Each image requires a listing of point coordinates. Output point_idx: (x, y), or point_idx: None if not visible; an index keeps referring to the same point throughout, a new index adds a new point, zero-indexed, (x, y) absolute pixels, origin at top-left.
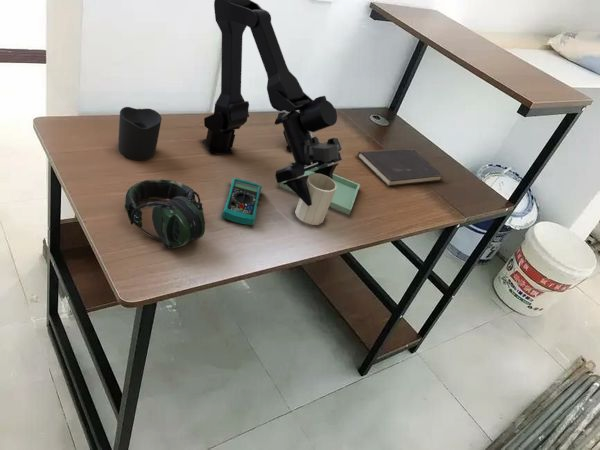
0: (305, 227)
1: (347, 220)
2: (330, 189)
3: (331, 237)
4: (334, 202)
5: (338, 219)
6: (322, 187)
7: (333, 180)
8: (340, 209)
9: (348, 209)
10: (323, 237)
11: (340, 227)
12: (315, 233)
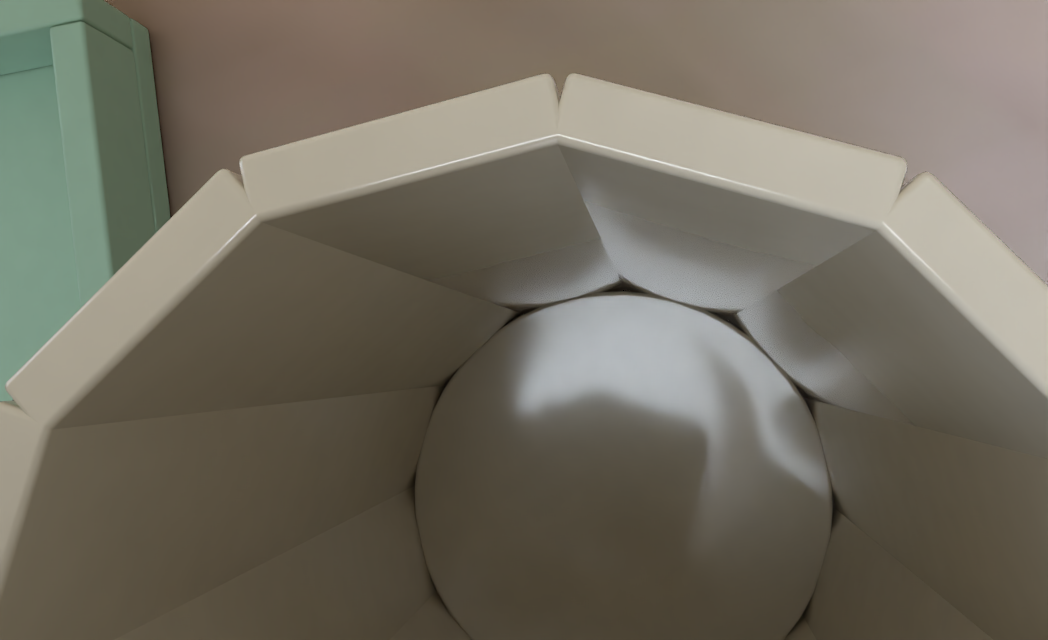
0: None
1: (245, 3)
2: (267, 367)
3: (823, 24)
4: (91, 279)
5: (324, 114)
6: (220, 604)
7: (3, 410)
8: (134, 156)
9: (88, 26)
10: (922, 117)
11: (484, 16)
12: None
